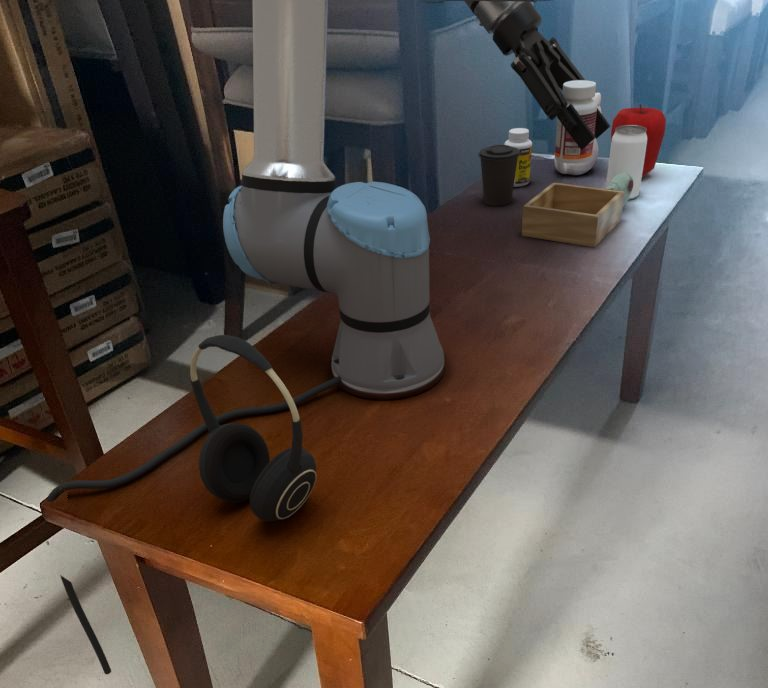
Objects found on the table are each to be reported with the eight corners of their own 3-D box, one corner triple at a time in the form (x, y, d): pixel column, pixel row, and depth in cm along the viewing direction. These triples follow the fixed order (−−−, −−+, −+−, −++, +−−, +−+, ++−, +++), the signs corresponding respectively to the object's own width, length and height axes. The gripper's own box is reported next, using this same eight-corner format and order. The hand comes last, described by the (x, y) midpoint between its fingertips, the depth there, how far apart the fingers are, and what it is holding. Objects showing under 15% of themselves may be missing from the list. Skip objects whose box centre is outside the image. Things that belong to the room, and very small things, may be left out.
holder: (594, 247, 133) (598, 216, 129) (521, 235, 138) (523, 205, 135) (620, 221, 141) (625, 191, 138) (550, 211, 147) (553, 182, 144)
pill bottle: (599, 158, 129) (608, 82, 122) (573, 166, 126) (580, 90, 119) (572, 151, 133) (579, 77, 126) (546, 159, 130) (552, 84, 123)
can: (608, 201, 149) (617, 135, 141) (601, 190, 154) (609, 125, 146) (642, 199, 149) (653, 132, 141) (634, 188, 154) (643, 123, 146)
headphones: (288, 551, 78) (255, 380, 65) (190, 501, 86) (143, 338, 73) (341, 506, 83) (321, 338, 70) (244, 462, 91) (209, 303, 78)
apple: (628, 187, 154) (638, 113, 146) (595, 174, 161) (603, 103, 153) (668, 176, 158) (681, 103, 149) (634, 164, 165) (644, 94, 156)
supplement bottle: (518, 189, 157) (521, 135, 151) (497, 184, 160) (499, 131, 154) (535, 182, 160) (538, 129, 153) (514, 177, 163) (516, 125, 157)
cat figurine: (605, 166, 165) (615, 88, 155) (577, 183, 158) (586, 103, 148) (567, 161, 169) (574, 84, 160) (539, 177, 162) (544, 98, 152)
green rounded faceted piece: (617, 201, 149) (622, 164, 144) (637, 205, 147) (643, 168, 142) (598, 214, 144) (602, 177, 140) (618, 218, 142) (624, 180, 138)
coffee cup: (472, 206, 151) (473, 152, 145) (483, 193, 157) (484, 140, 150) (513, 209, 149) (515, 154, 142) (522, 195, 154) (525, 142, 148)
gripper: (517, 26, 131) (598, 138, 135) (466, 48, 119) (556, 170, 123) (549, -11, 125) (633, 107, 129) (498, 8, 113) (592, 138, 117)
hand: (595, 137), depth 126 cm, fingers closed on pill bottle, 6 cm apart
